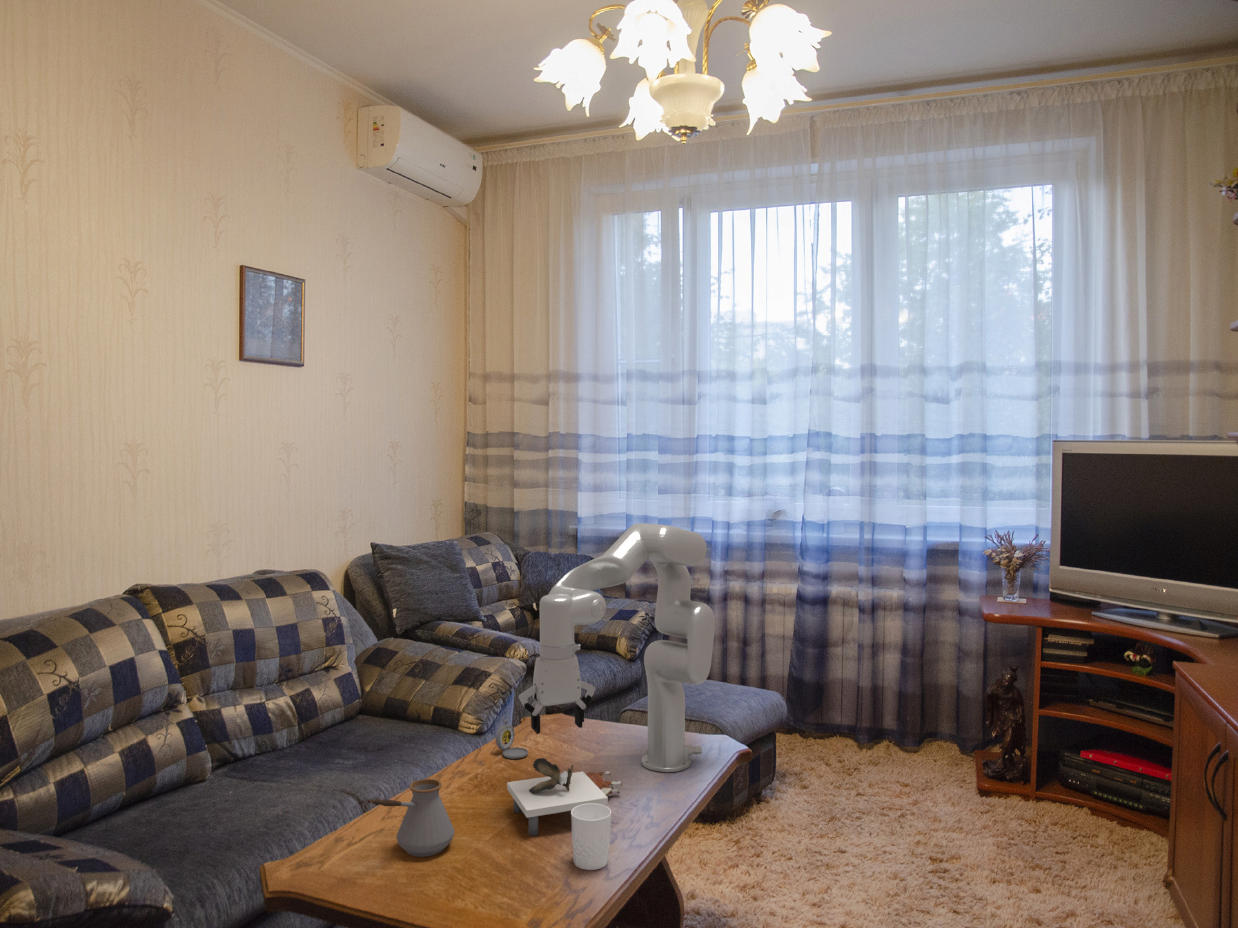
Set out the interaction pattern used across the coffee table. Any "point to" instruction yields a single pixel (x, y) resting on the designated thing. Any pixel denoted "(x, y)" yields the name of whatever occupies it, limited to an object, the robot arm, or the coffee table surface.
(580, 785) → the display shelf
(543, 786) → the eagle figurine
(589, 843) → the white cup
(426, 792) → the coffee pot
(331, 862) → the coffee table surface
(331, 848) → the coffee table surface
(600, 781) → the bull figurine
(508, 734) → the pocket watch
